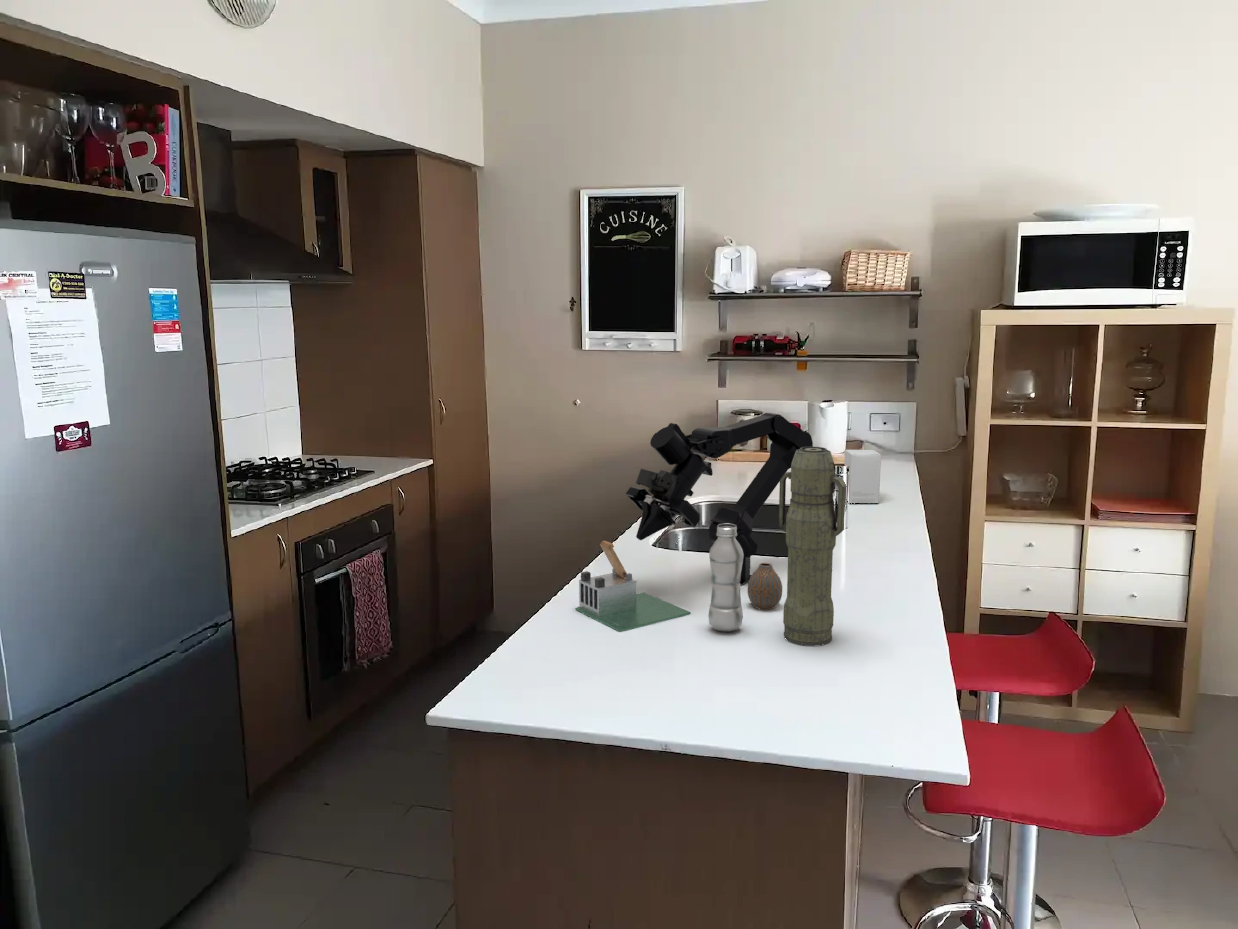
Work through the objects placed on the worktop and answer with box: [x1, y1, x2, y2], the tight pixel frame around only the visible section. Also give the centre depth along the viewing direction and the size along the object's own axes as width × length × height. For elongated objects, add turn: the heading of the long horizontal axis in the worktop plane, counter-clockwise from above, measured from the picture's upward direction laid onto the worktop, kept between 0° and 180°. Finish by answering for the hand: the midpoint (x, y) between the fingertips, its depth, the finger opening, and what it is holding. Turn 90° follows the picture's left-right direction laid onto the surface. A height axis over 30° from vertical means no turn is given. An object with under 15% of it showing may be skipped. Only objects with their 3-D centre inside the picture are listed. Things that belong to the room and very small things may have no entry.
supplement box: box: [844, 449, 882, 505], centre depth 286 cm, size 9×9×15 cm
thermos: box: [778, 446, 847, 647], centre depth 173 cm, size 9×12×35 cm
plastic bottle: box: [708, 524, 744, 632], centre depth 179 cm, size 6×7×20 cm
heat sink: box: [575, 568, 692, 633], centre depth 190 cm, size 17×16×8 cm
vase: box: [747, 562, 783, 610], centre depth 193 cm, size 7×7×9 cm
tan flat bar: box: [599, 540, 628, 579], centre depth 192 cm, size 8×3×1 cm
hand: (638, 538), depth 195 cm, fingers closed
